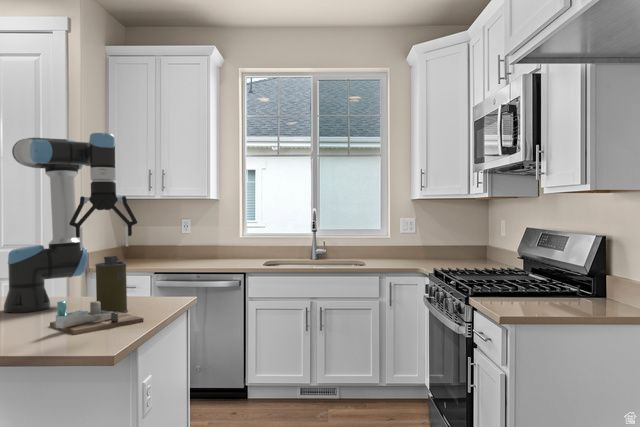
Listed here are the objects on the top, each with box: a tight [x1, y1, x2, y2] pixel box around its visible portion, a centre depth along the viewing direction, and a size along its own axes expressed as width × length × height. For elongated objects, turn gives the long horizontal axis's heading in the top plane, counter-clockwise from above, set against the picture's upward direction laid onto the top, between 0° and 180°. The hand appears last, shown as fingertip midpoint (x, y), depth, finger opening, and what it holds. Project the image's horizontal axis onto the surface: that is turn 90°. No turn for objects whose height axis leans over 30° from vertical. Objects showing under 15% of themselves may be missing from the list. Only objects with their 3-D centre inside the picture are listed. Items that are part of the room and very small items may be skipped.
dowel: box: [111, 313, 118, 323], centre depth 166 cm, size 2×2×4 cm
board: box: [49, 300, 145, 335], centre depth 169 cm, size 18×22×7 cm
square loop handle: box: [55, 300, 115, 329], centre depth 165 cm, size 17×8×8 cm, turn 153°
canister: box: [95, 255, 129, 314], centre depth 189 cm, size 11×10×20 cm
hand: (104, 247), depth 172 cm, fingers open, 13 cm apart
